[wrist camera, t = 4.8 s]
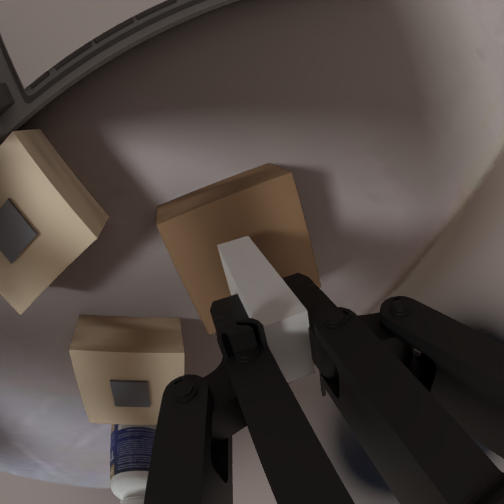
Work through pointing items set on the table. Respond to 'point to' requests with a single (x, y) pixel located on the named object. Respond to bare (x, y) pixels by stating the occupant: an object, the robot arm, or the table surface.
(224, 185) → the walnut block
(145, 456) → the pill bottle
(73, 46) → the laptop
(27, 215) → the marked block
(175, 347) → the marked block
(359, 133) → the table surface
